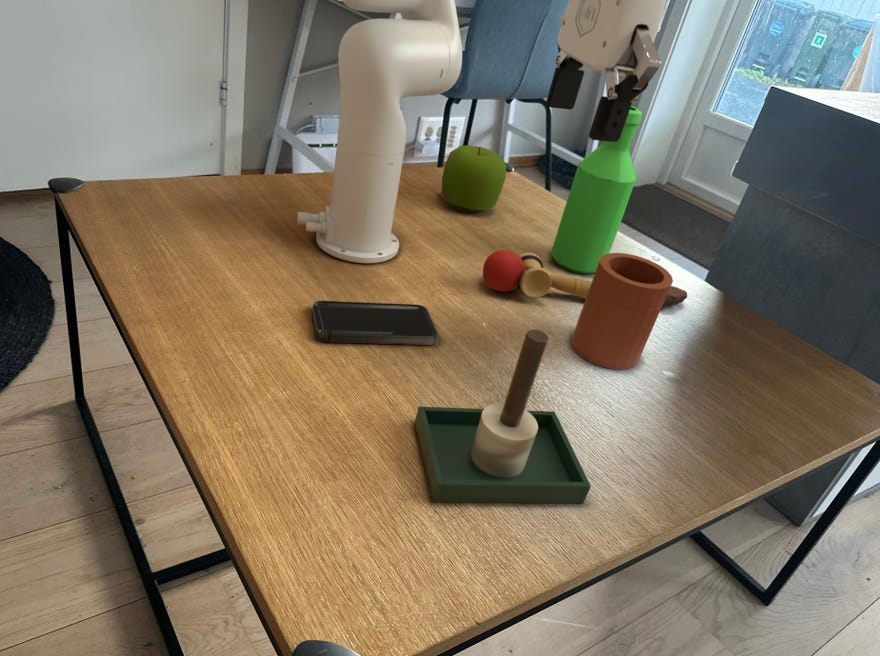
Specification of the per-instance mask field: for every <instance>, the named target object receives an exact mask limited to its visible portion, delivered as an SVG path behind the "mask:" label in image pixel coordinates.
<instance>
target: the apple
mask: <svg viewBox="0 0 880 656" xmlns="http://www.w3.org/2000/svg"><path fill="white" fill-rule="evenodd" d="M506 179H507V163H506V162H505V160H504V159H503V157H502V156H500V155H499V154H498V153H497V152H495V151H493V150H492V149H488V148H485V147H482V146H477V145H471V144H470V145H469V144H466V145H460V146H458V147H456V148H455V149H453V150H452V151H450V152H449V154H448V155H447V159H446V161H445V163H444V166H443V171H442V178H441V194H442V196H443V198H444V199H445V200H446V202H447V203H448V204H449V205H450V206H451V207H453V208H454V209H456V210H458V211H460V212H464V213H465V212H466V213H478V212H482V211H486V210H489V209H492V208H494V207H495V206H496V205H497V203H498V200H499V198H500V196H501V194H502V190H503V187H504V184H505V182H506Z"/></svg>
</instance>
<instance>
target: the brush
mask: <svg viewBox="0 0 880 656" xmlns="http://www.w3.org/2000/svg"><path fill="white" fill-rule="evenodd" d="M548 341H549V336H548V334H547V333H545V332H543V331H542V330H539V329H529V330H527V331H526V333H525V337H524V340H523V343H522V346H521V349H520V352H519V355H518V359H517V362H516V365H515V369H514V371H513V375H512V377H511V381H510V383H509V384H510V385H509V387H508V391H507V394H506V396H505V401H504V402H495V403H491V404H489V405H487V406H485V408H483V409H484V410H483V412H482V414H481V418H480V421H479V425H478V428H477V432H476V435H475V438H474V442H473V445H472V449H471V458H472V460H473V462H474V463H475V465H476V466H477V467H478V468H479V469H481V470H482V471H483V472H485V473H487V474H489V475H492V476H495V477H500V478H510V477H515V476H517V475H519V474H520V473H521V472H522V471H523V470H524V467H525V465H526V462H527V459H528V456H529V453H530V451H531V448H532V445H533V442H534V439H535V437H536V434H537V431H538V424H537V421H536V420H535V418H534V417H533V416H532V415H531V414H530V413H529V412H528V411H529V410H526V407H527V404H528V402H529V399H530V396H531V392H532V389H533V387H534V383H535V380H536V378H537V374H538V371H539V368H540V365H541V362H542V360H543V357H544V353H545V351H546V348H547V344H548Z"/></svg>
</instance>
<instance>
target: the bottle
mask: <svg viewBox="0 0 880 656" xmlns="http://www.w3.org/2000/svg"><path fill="white" fill-rule="evenodd" d="M642 115H643V113H642V111H641V110H639V108H637V107H635V106H632V105H631V108H630V110H629V113H628V116H627V119H626V122H625V125H624V127H623V130H622V133H621V136H620V139H619V140H618V141H617V142H610V141H602V143H601V144H600V145H599V146H598V147H596V148H595V149H594V150H593V151H592V152H590V153H589V154H588V155H587V156H586V157H584V158H583V159H582V160H581V161H580V162H579V163H578V165H577V168H576V171H575V175H574V177H573V181H572V184H571V187H570V190H569V194H568V196H567V199H566V204H565V206H564V209H563V213H562V216H561V219H560V222H559V225H558V229H557V232H556V235H555V239H554V241H553V245H552V247H551V256H552V258H553V259H554V260H555V261H556V263H557V264H558V265H559V266H560V267H561V268H564V269H565V270H567V271H571V272H574V273H576V274H583V275H587V274H588V275H589V274H595V272H596V269H597V266H598V264H599V261H600V259H601V257H602V256H604V255H606V254H609V253H611V250H612V247H613V245H614V242H615V240H616V236H617V233H618V231H619V229H620V226H621V223H622V220H623V217H624V215H625V212H626V210H627V209H626V208H627V206H628V203H629V200H630V197H631V195H632V192H633V189H634V186H635V183H636V180H637V174H636V172H635V168H634V164H633V161H632V156H631V154H630V147H631V144H632V141H633V138H634V136H635V133H636V130H637V127H638V125H639V124H640V123H641V122H642Z"/></svg>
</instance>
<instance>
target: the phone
mask: <svg viewBox="0 0 880 656" xmlns="http://www.w3.org/2000/svg"><path fill="white" fill-rule="evenodd" d="M311 312H312V319H313V325H314V330H315V337H316V339H317V340H319V341H320V342H323V343H338V344H339V343H344V344H345V343H347V344H376V345H377V344H378V345H379V344H382V345H418V346H419V345H420V346H431V345H434V344H436V342H437V337H438V331H437V329H436V327H435V324H434V321H433V319H432V317H431V315H430V312H429V310H428V308H427V307H426V306H424V305H421V304H411V303H410V304H409V303H390V302H389V303H388V302H387V303H386V302H363V301H362V302H360V301H337V300H335V301H334V300H317V301H314V302H313V303H312V311H311Z"/></svg>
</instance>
